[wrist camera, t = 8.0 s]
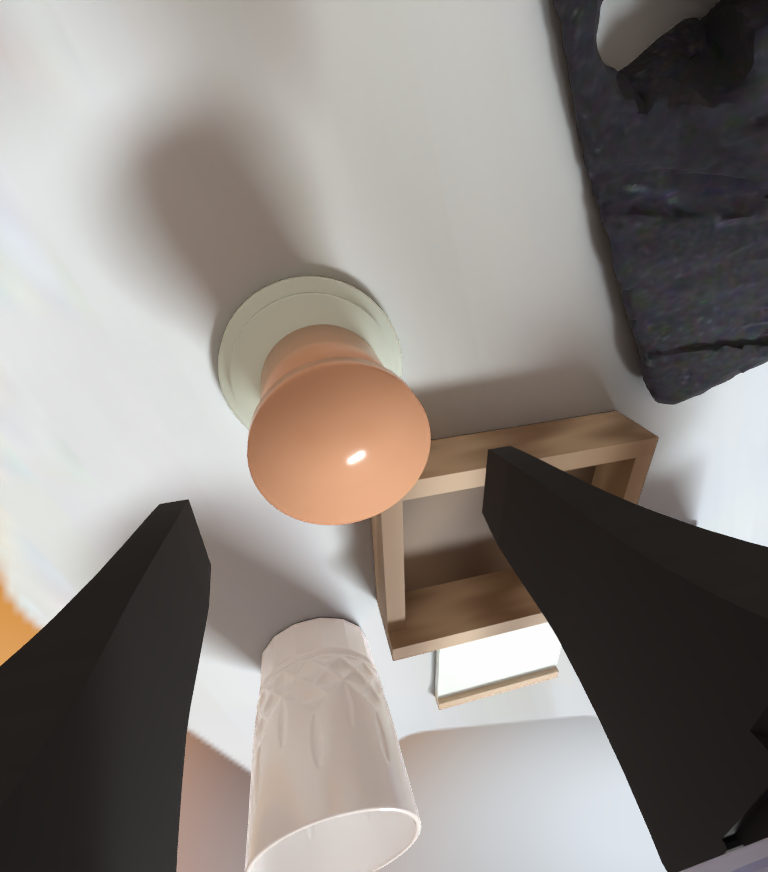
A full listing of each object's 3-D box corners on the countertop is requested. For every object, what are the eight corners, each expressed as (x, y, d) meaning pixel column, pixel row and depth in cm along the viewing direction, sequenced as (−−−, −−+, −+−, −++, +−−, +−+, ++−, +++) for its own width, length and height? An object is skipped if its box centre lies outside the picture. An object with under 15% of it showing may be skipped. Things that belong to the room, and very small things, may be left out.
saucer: (397, 268, 17) (404, 272, 16) (401, 433, 21) (406, 443, 20) (197, 284, 16) (193, 289, 15) (240, 457, 20) (239, 469, 19)
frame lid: (572, 581, 30) (580, 592, 30) (550, 665, 35) (557, 677, 35) (437, 613, 29) (442, 626, 28) (434, 697, 34) (439, 710, 33)
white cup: (239, 690, 28) (227, 909, 19) (268, 605, 25) (269, 822, 16) (353, 688, 31) (386, 879, 22) (392, 612, 28) (448, 799, 19)
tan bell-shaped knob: (378, 303, 17) (422, 347, 12) (396, 426, 20) (436, 500, 15) (233, 332, 16) (219, 391, 11) (274, 456, 19) (276, 543, 14)
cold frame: (616, 410, 24) (675, 447, 20) (579, 555, 29) (620, 604, 26) (366, 450, 21) (384, 500, 18) (377, 601, 27) (393, 661, 23)
